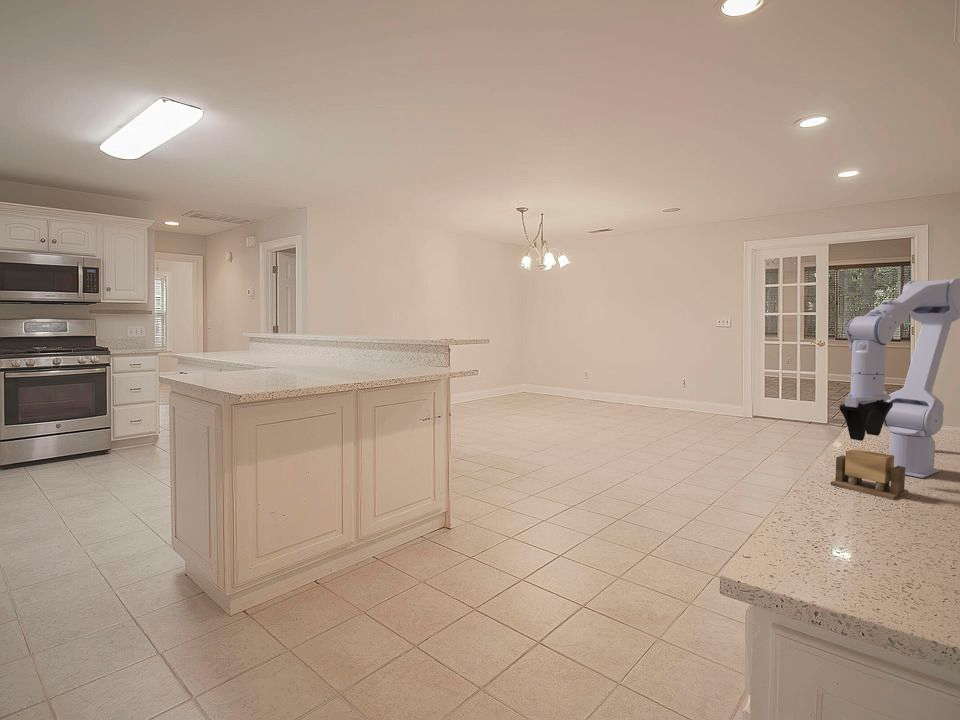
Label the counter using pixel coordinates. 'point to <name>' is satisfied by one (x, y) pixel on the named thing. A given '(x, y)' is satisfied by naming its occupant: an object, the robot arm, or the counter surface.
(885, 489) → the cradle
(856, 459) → the block
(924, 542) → the counter surface
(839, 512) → the counter surface
